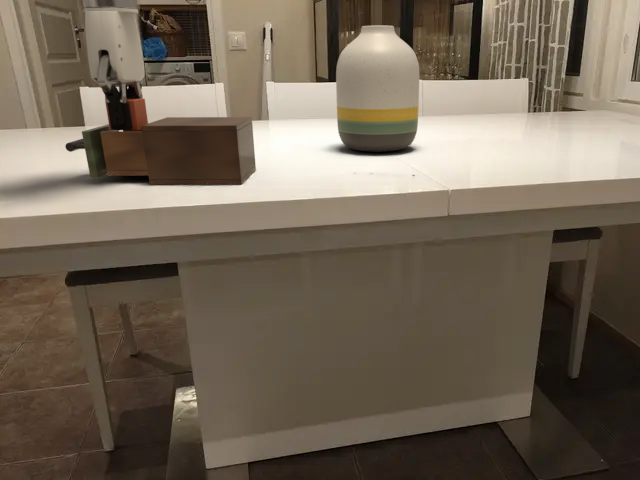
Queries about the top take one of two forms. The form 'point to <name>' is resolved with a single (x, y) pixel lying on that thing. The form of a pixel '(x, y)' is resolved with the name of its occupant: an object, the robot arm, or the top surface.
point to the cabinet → (199, 150)
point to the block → (135, 113)
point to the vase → (377, 91)
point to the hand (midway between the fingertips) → (128, 126)
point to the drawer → (112, 152)
